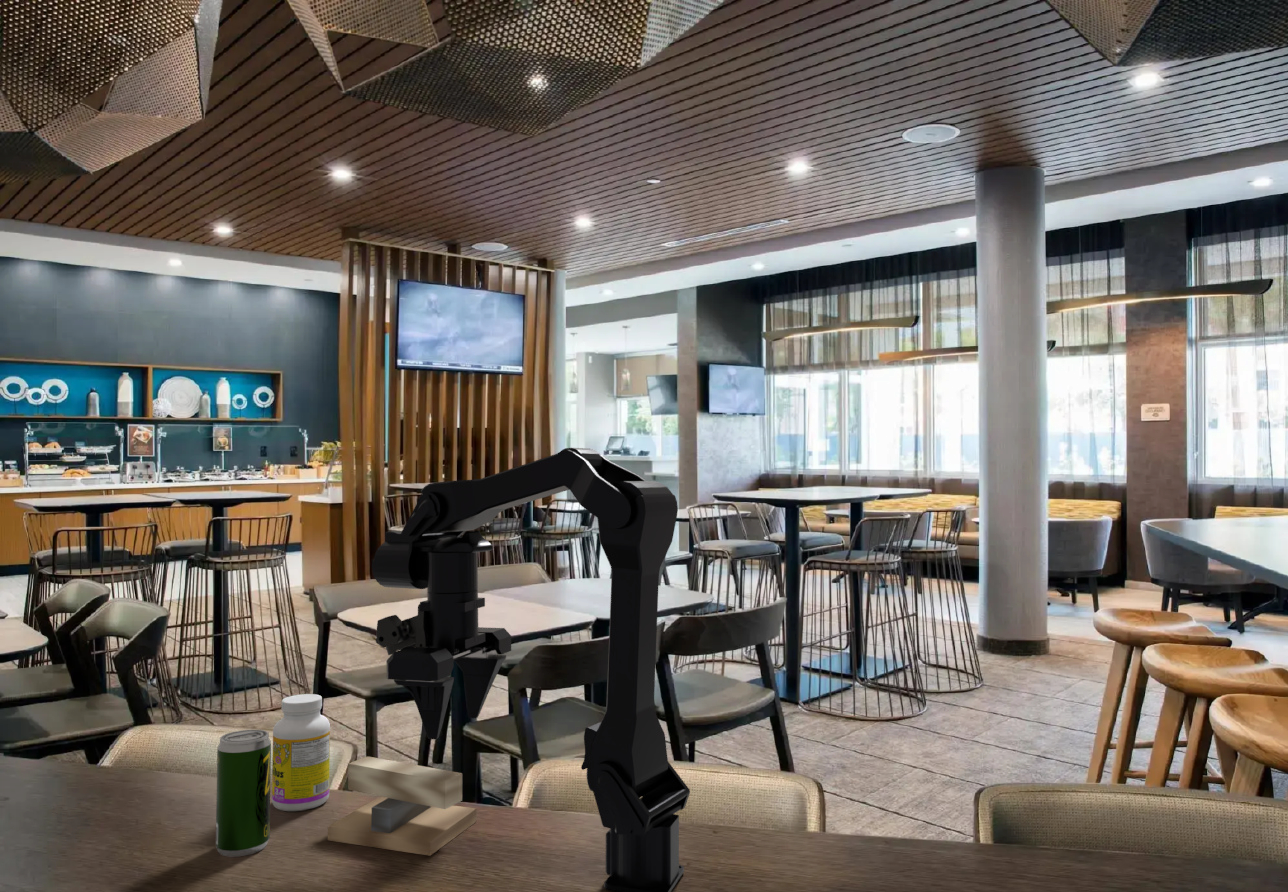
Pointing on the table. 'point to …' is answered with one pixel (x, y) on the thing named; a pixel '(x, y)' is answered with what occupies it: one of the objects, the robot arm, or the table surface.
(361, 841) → the balance board
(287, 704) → the supplement bottle
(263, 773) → the beer can
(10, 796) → the table surface
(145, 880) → the table surface
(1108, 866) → the table surface
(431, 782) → the rod
